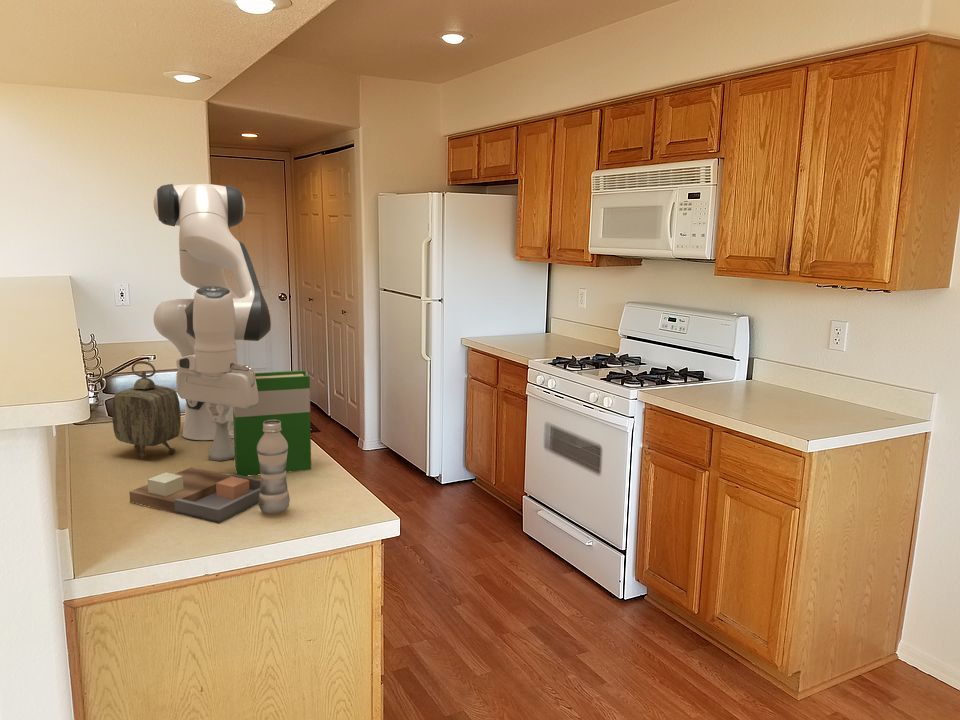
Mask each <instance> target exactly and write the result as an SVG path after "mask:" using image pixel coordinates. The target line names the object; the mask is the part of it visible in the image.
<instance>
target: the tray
mask: <svg viewBox="0 0 960 720" xmlns="http://www.w3.org/2000/svg"><path fill="white" fill-rule="evenodd" d="M230 475H231V476H233V477H238V478H243V479H247V480H249V490H250V492H249V493H247V494H245V495H243V496H241V497H239V498H237V499H235V500H233V499H228V498H224V497H220V496H217V495H216V492H215V493H213V494H210V495H208V496H206V497H204V498H201V499H199V500H197V501H195V502H192V501H188V500H184V499H179V498H177V499H175V500H174V503H175V513H174V514H177V515H182V516H185V517H190V518H194V519H197V520H203V521H206V522H210V523H215V524H219V525H220V524H222V523H224V522H225V521H227V520H230V519H231V518H233V517H235V516H237V515H239V514H241V513H244V512H245V511H247V510H249V509H251V508H253V507H255V506H257V505H259V503H258V501H259V493H260V481H261V478H256V477H252V476H242V475H237V473H233V474H230Z"/></svg>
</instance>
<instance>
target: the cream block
mask: <svg viewBox="0 0 960 720" xmlns="http://www.w3.org/2000/svg"><path fill="white" fill-rule="evenodd" d="M147 484H148V492H149V493H153V494H157V495H162V496H168V495H170V494H173V493H175V492H177V491H180V490H182V489H183V476H180V475H176V474H175V473H171V472H162V473H161V474H158V475H156V476H153V477H150V478H148V479H147Z"/></svg>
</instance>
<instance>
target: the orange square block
mask: <svg viewBox="0 0 960 720" xmlns="http://www.w3.org/2000/svg"><path fill="white" fill-rule="evenodd" d="M249 492H250V490H249V480H247V479H243V478H238V477H233V476H231V477H229V478H227V479H224V480H222V481H220V482H217V483H216V495H217V496H220V497H224V498H228V499H233V500H235V499H237V498H239V497H241V496H243V495H245V494H247V493H249Z"/></svg>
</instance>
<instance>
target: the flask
mask: <svg viewBox="0 0 960 720" xmlns="http://www.w3.org/2000/svg"><path fill="white" fill-rule="evenodd" d="M228 422H229V420H228V419H226V422H225V423H223V424H220V423H216V427H217V428H216V435H215V438H214V440H212V441H213V442H212V444H211V448H210V450H209V453H208V455H207V457H208V458H209V460H212V461H219V462H221V461H223V462H224V461H228V460H233V459H235V450H234V442H233V440H232V438H230V435H229V431H228V425H227V424H228Z"/></svg>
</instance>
